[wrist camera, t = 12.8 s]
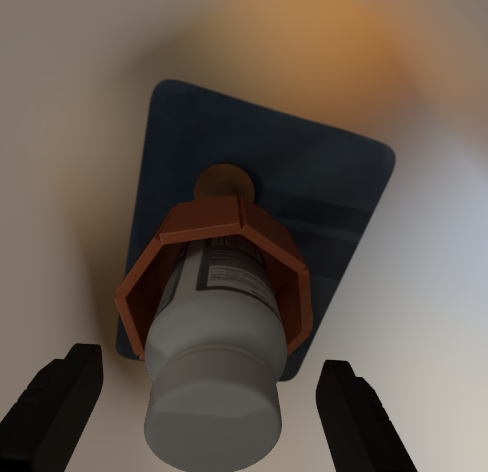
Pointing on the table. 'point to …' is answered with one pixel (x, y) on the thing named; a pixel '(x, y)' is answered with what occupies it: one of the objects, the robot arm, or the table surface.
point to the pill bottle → (215, 359)
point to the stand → (224, 182)
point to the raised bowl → (209, 226)
